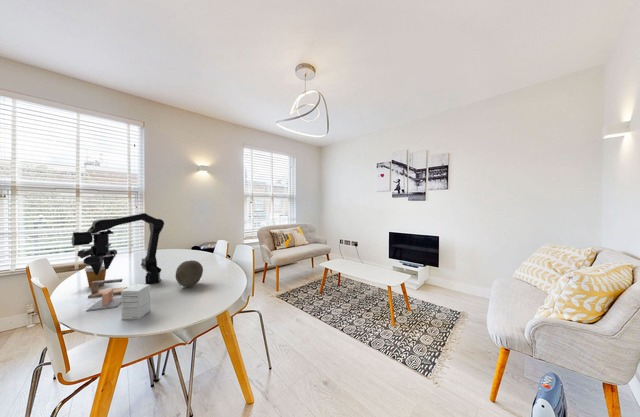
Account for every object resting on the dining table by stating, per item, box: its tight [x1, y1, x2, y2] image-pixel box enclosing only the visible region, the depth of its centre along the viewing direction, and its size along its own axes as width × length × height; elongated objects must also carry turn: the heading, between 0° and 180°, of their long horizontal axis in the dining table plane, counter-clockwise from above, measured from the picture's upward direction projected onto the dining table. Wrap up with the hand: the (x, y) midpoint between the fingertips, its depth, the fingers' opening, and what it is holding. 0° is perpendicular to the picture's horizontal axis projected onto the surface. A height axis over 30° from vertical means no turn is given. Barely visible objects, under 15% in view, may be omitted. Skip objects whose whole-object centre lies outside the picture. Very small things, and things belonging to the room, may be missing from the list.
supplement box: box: [120, 284, 151, 320], centre depth 98 cm, size 7×7×13 cm
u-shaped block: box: [101, 288, 114, 306], centre depth 108 cm, size 2×5×6 cm, turn 22°
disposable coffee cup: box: [83, 263, 107, 289], centre depth 130 cm, size 10×10×12 cm
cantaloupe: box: [175, 259, 204, 288], centre depth 132 cm, size 14×14×15 cm
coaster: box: [85, 296, 121, 312], centre depth 108 cm, size 11×11×1 cm
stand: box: [87, 278, 128, 299], centre depth 121 cm, size 14×8×7 cm, turn 111°
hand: (101, 271), depth 118 cm, fingers open, 9 cm apart
